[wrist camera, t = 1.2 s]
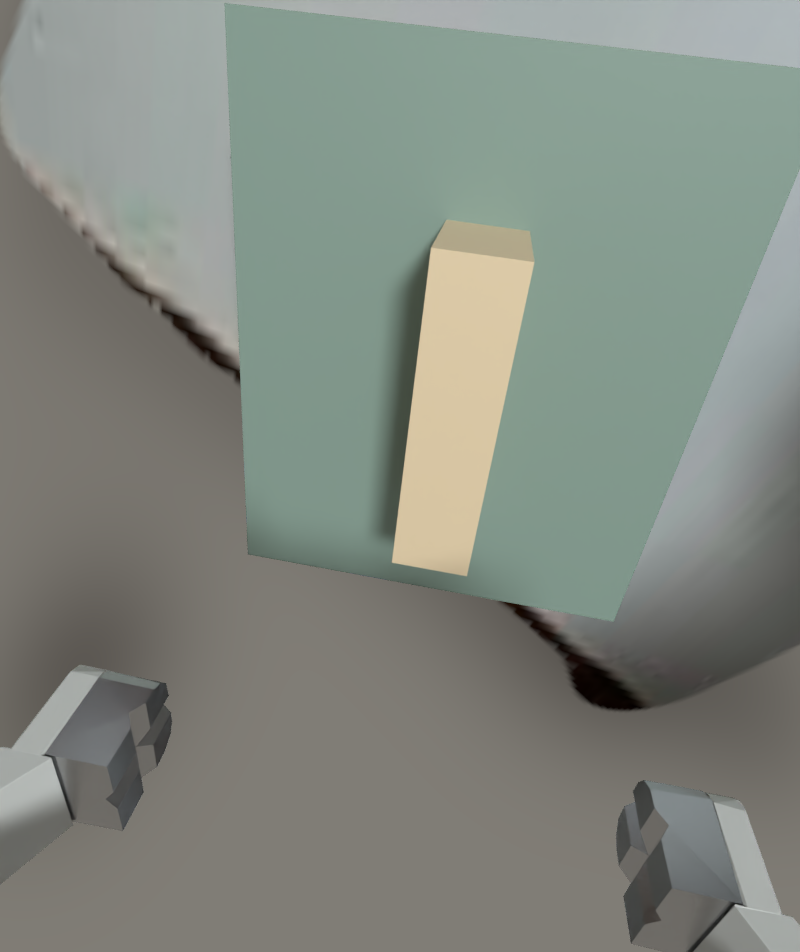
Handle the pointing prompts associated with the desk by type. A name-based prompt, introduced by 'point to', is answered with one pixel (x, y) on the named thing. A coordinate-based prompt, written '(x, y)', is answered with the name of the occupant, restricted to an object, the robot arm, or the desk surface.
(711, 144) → the lid
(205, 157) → the desk surface
